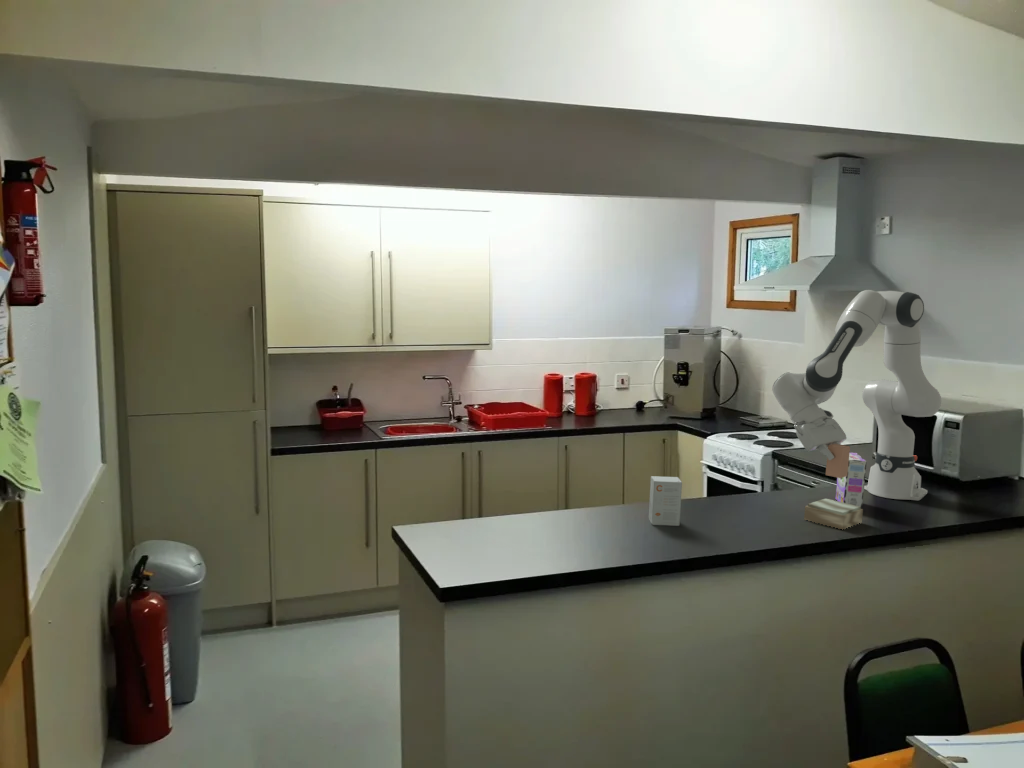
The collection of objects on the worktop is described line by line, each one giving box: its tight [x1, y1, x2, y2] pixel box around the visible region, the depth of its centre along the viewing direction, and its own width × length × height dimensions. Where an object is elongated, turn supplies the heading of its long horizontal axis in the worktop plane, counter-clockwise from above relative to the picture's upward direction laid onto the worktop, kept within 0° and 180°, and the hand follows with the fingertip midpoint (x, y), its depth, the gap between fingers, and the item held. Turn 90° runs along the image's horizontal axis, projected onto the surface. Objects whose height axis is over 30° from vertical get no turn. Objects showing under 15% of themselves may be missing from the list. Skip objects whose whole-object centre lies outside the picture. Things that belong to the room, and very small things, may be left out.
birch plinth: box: [803, 498, 864, 531], centre depth 242 cm, size 12×12×5 cm
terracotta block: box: [825, 444, 851, 479], centre depth 240 cm, size 4×4×9 cm
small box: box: [648, 475, 683, 527], centre depth 234 cm, size 8×6×13 cm
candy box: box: [835, 452, 867, 509], centre depth 260 cm, size 14×6×16 cm, turn 168°
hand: (837, 457), depth 240 cm, fingers closed on terracotta block, 4 cm apart
